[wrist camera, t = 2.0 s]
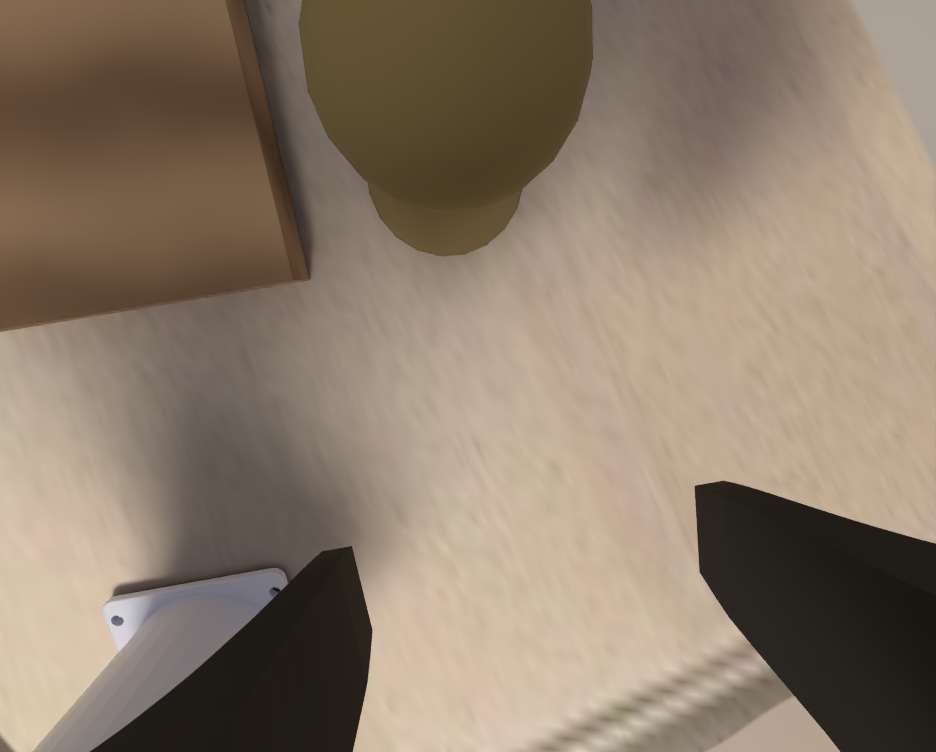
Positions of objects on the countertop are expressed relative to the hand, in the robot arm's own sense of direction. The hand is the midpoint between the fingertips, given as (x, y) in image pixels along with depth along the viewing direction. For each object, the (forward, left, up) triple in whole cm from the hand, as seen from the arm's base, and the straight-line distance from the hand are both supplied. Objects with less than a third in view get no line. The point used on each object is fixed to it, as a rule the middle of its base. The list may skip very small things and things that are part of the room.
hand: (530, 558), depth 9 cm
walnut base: (+13, +12, -10) cm, 20 cm away
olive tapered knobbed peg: (+10, 0, -11) cm, 14 cm away
